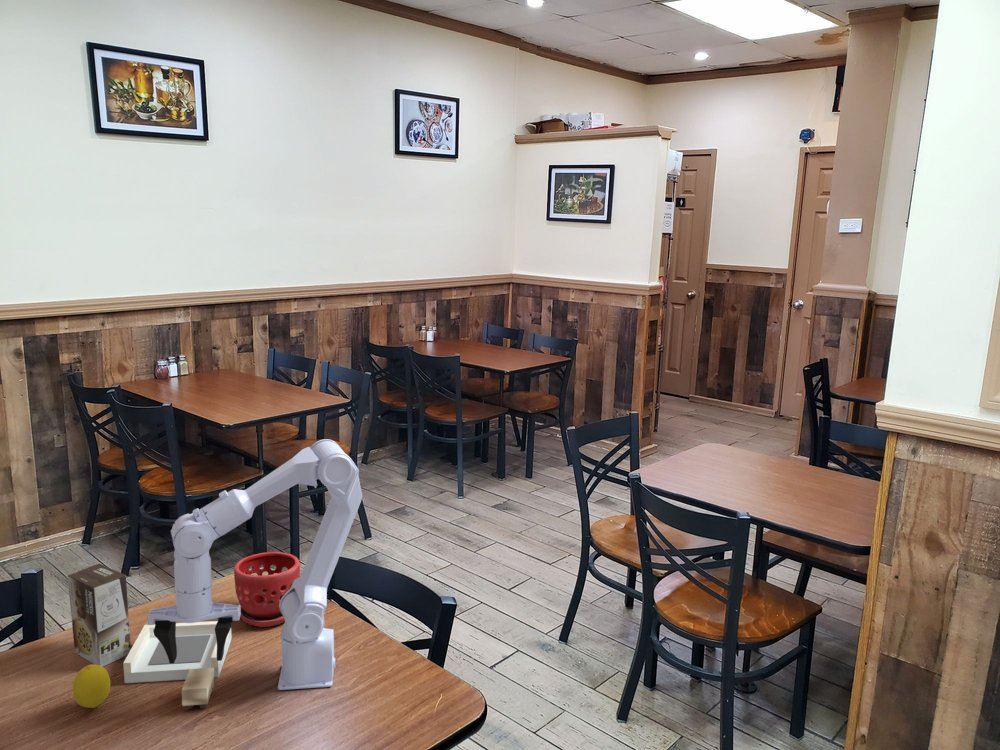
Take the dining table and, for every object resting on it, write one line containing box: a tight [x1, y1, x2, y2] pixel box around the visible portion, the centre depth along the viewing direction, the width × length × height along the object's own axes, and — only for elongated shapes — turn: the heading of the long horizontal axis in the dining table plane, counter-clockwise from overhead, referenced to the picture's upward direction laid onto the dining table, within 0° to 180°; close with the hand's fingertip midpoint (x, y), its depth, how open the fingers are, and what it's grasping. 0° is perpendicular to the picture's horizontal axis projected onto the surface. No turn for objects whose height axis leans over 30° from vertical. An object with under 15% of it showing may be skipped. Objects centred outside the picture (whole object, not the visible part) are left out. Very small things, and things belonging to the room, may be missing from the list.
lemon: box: [72, 663, 111, 709], centre depth 125 cm, size 6×6×8 cm
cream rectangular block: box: [181, 668, 215, 711], centre depth 128 cm, size 4×6×4 cm, turn 10°
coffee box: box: [67, 563, 132, 667], centre depth 140 cm, size 9×6×16 cm
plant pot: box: [233, 551, 301, 627], centre depth 156 cm, size 13×13×12 cm
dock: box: [122, 620, 233, 684], centre depth 140 cm, size 16×13×4 cm
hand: (196, 658), depth 127 cm, fingers open, 7 cm apart
